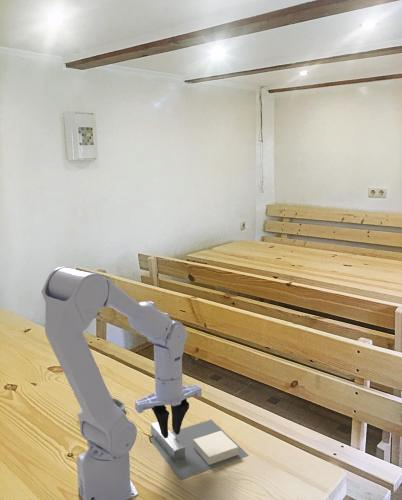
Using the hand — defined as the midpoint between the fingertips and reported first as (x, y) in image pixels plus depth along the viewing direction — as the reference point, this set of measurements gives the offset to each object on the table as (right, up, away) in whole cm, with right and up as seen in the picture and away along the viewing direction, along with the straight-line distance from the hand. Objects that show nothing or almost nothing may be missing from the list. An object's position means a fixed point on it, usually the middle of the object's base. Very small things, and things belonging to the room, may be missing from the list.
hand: (170, 433), depth 98 cm
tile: (+8, -2, +2) cm, 9 cm away
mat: (+6, -4, +1) cm, 7 cm away
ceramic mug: (-18, -2, +16) cm, 24 cm away
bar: (0, -2, +2) cm, 3 cm away
